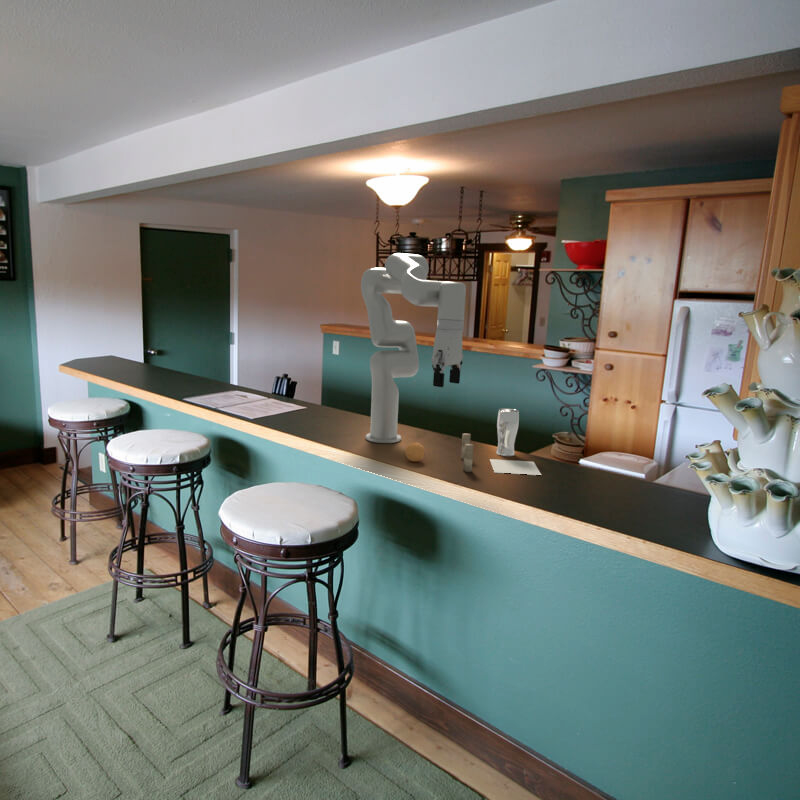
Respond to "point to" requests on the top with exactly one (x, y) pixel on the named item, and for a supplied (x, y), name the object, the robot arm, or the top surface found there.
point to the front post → (468, 458)
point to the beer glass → (507, 431)
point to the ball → (415, 452)
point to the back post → (464, 441)
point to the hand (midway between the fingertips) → (446, 384)
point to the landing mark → (514, 467)
